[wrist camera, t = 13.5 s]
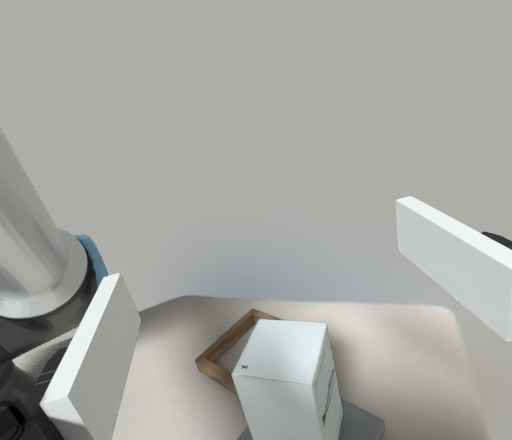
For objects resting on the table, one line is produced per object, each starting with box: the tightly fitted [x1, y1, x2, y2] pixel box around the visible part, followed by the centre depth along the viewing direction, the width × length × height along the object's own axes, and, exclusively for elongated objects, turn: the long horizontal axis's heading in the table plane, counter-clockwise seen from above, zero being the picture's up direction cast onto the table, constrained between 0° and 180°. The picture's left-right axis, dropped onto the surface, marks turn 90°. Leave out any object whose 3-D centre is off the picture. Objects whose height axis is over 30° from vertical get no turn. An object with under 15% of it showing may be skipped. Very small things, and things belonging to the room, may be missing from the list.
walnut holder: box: [195, 309, 280, 395], centre depth 49 cm, size 12×12×2 cm
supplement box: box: [231, 319, 343, 440], centre depth 33 cm, size 7×7×13 cm
